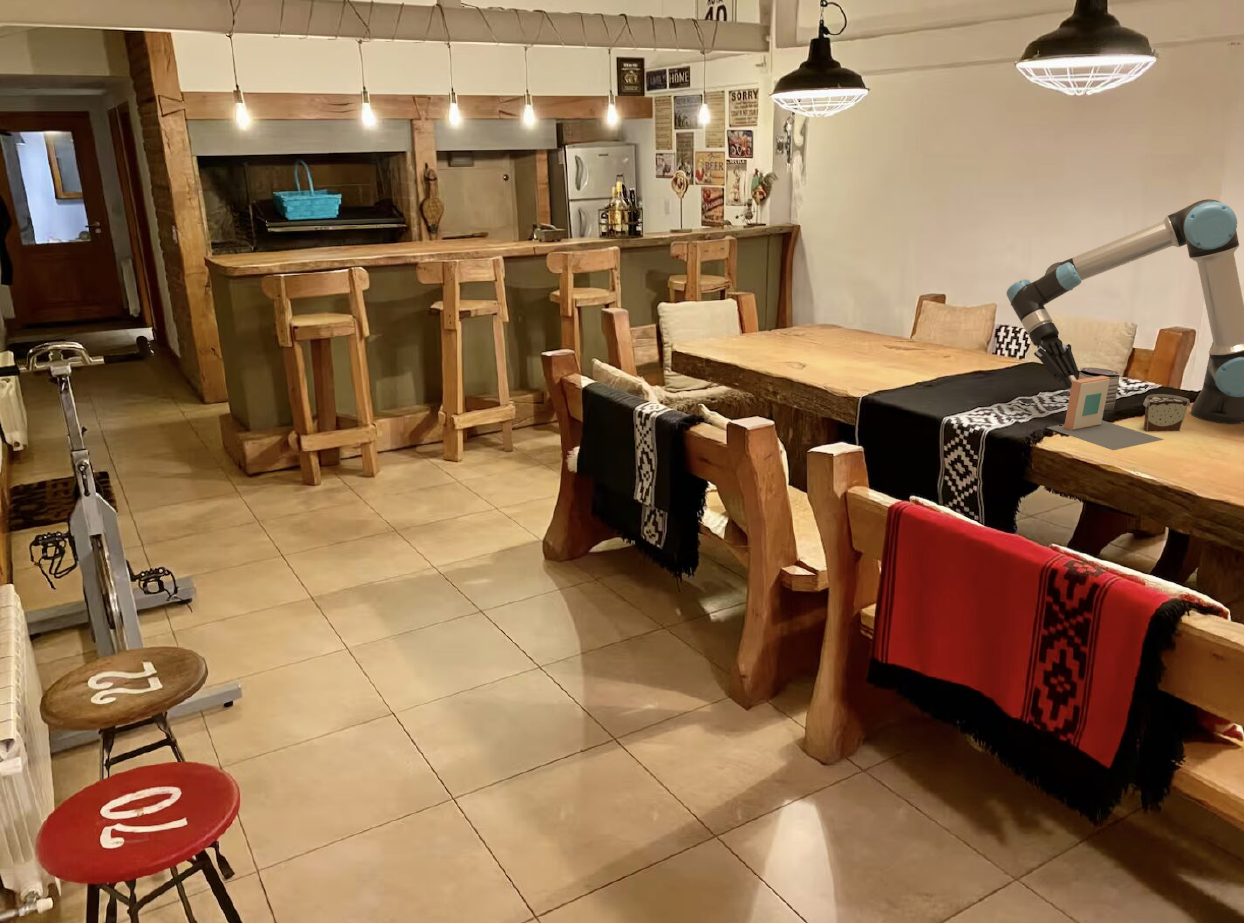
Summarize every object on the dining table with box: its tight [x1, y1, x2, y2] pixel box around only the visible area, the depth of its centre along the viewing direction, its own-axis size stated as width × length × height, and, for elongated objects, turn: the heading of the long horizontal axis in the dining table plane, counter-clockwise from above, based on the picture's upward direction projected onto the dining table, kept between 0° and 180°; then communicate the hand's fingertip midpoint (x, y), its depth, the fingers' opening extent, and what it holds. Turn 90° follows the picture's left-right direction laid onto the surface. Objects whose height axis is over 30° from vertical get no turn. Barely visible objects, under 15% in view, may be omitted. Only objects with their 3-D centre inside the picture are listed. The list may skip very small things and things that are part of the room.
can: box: [1078, 367, 1122, 411], centre depth 285 cm, size 11×11×12 cm
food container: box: [1142, 393, 1191, 432], centre depth 263 cm, size 12×6×10 cm, turn 92°
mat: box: [1045, 419, 1165, 451], centre depth 260 cm, size 20×22×1 cm
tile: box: [1064, 376, 1110, 431], centre depth 263 cm, size 12×3×14 cm, turn 115°
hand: (1079, 397), depth 265 cm, fingers closed
